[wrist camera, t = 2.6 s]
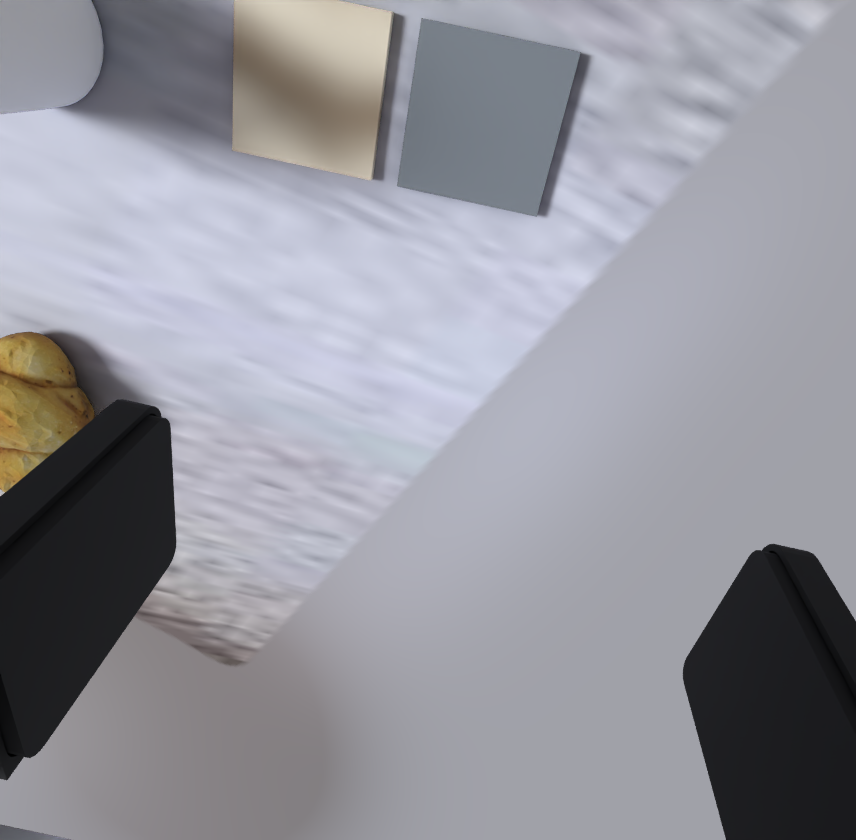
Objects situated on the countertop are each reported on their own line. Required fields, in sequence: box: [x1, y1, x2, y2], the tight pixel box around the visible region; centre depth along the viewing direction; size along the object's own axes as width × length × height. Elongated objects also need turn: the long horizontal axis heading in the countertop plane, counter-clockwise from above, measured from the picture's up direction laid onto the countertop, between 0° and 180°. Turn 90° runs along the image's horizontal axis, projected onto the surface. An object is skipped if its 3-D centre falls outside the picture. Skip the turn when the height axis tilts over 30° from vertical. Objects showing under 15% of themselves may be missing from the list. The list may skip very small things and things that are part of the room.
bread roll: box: [0, 332, 95, 492], centre depth 42 cm, size 13×10×8 cm
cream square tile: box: [232, 0, 394, 181], centre depth 32 cm, size 8×8×1 cm
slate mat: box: [397, 18, 581, 217], centre depth 32 cm, size 8×8×1 cm
